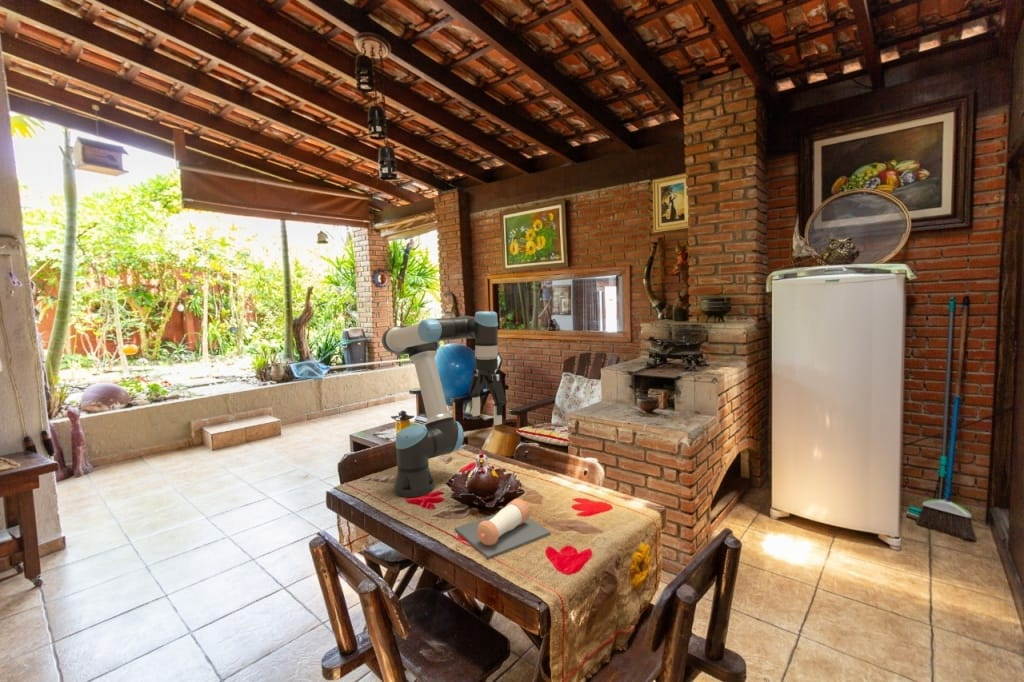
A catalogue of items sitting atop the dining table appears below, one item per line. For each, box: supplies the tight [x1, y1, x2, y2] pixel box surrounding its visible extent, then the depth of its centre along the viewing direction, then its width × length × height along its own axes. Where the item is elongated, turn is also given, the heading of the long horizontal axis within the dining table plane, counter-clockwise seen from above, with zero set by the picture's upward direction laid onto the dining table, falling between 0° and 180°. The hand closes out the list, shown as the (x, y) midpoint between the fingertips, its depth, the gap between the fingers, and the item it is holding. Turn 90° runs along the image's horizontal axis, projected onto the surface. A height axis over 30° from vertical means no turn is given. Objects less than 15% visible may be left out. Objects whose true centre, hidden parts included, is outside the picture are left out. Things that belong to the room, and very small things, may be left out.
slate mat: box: [454, 513, 552, 560], centre depth 140 cm, size 20×22×1 cm
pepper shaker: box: [477, 498, 530, 546], centre depth 137 cm, size 7×7×19 cm
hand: (486, 420), depth 155 cm, fingers open, 13 cm apart
